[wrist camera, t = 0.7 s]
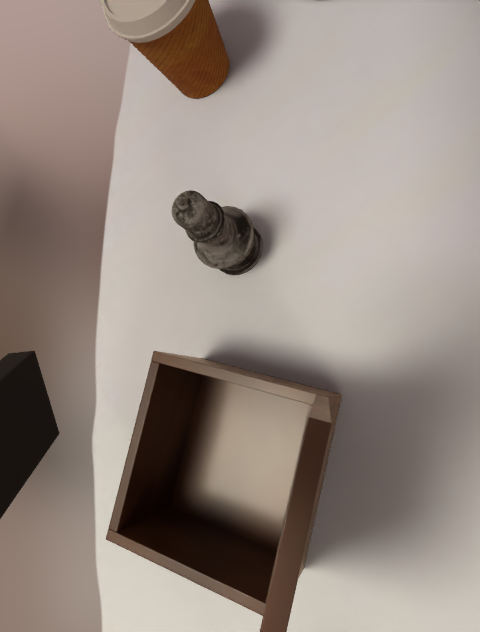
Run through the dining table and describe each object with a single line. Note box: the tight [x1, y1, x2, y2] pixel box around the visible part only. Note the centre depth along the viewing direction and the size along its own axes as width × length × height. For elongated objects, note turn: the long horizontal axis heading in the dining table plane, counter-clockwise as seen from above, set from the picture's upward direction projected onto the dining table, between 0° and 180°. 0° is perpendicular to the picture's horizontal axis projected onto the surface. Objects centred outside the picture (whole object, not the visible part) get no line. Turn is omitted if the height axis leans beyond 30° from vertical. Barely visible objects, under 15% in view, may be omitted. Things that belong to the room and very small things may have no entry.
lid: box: [260, 394, 332, 632], centre depth 21 cm, size 14×15×1 cm
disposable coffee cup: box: [100, 0, 230, 98], centre depth 42 cm, size 10×10×12 cm
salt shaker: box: [172, 191, 262, 275], centre depth 37 cm, size 6×6×12 cm
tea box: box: [106, 351, 342, 615], centre depth 35 cm, size 14×15×9 cm
